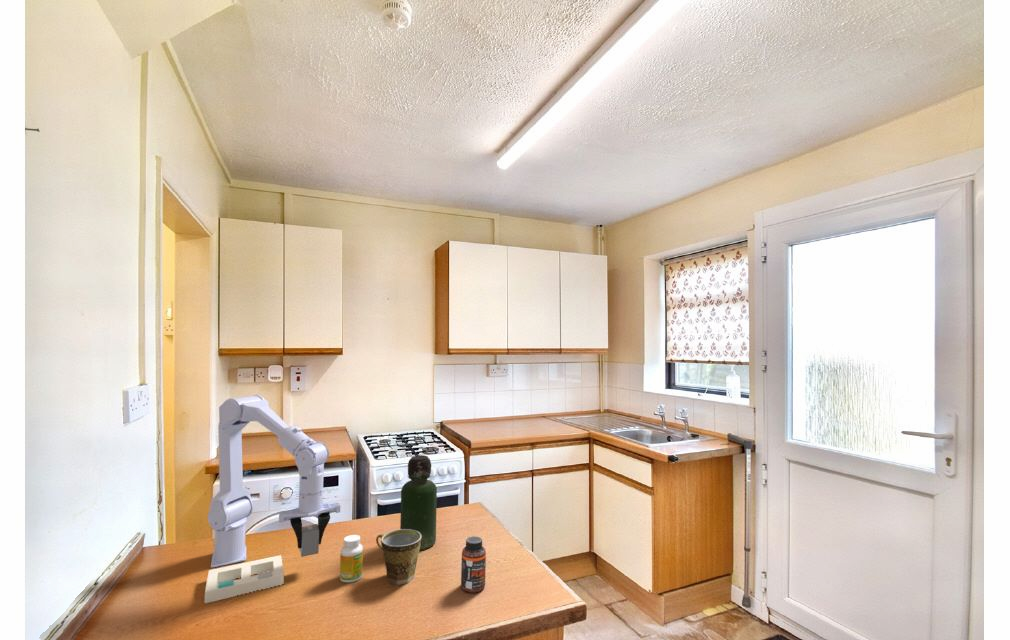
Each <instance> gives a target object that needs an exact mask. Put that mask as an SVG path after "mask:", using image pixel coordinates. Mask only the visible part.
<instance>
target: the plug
mask: <svg viewBox="0 0 1010 640" xmlns="http://www.w3.org/2000/svg"><path fill="white" fill-rule="evenodd" d="M319 547H320V544H319V528H318V523H315V524H309V525H302V531H301V548H300V549H299V552H300V557H302V558H304V557H309V556H313V555H318V554H319Z"/></svg>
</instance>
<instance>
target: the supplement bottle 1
mask: <svg viewBox="0 0 1010 640" xmlns="http://www.w3.org/2000/svg"><path fill="white" fill-rule="evenodd" d="M363 547H364V546H363V545H362V543H361V536H360V535H359V534H350V535H347V536H345V537H344V538H343V546H342V547H341V548H340V556H339V557H340V558H339V559H340V562H339V579H340V581H341V582H343V583H354V582H357V581H358V580H360V579H361V578H362V577H363V564H364V563H363V559H364V556H363V555H364V548H363Z"/></svg>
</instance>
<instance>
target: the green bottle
mask: <svg viewBox="0 0 1010 640" xmlns="http://www.w3.org/2000/svg"><path fill="white" fill-rule="evenodd" d="M431 473H432V461H431V459H430V458H429V456H428V455H423V454H421V455H413V456H411V458H410V459H409V460H408V463H407V475H408V479H409V480H408V481H406V482H405V483H404V484H403V486H402V487H401V490H400V519H399V520H400V522H399V523H400V526H399V527H400V529H411V530H415V531H418V532H419V533H420V534H421V544H420V549H419V551H421V550H425V549H428V548H431V547H432V546H434V545H435V543H436V541H437V501H438V500H437V499H438V498H437V497H438V496H437V494H438V493H437V491H438V490H437V485H436V484H435V482H433V481H432V480H430V479H429V478H430V477H431ZM400 529H399V530H400Z"/></svg>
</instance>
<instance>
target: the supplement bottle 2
mask: <svg viewBox="0 0 1010 640" xmlns="http://www.w3.org/2000/svg"><path fill="white" fill-rule="evenodd" d="M486 554H487V550H486V549H485V547H484V546H483V538H481V537H479V536H468V537H467V538H466V539H465V546H464V547H463V549H462V550H461V567H460V569H461V572H460V586H461V589H462V590H463V591H464V592H467V593H472V594H473V593H480V592H481V591H483V590H484V589H485V586H486V580H487V579H486V577H487V576H486V571H487V569H486V568H487V567H486V566H487V555H486Z"/></svg>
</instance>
